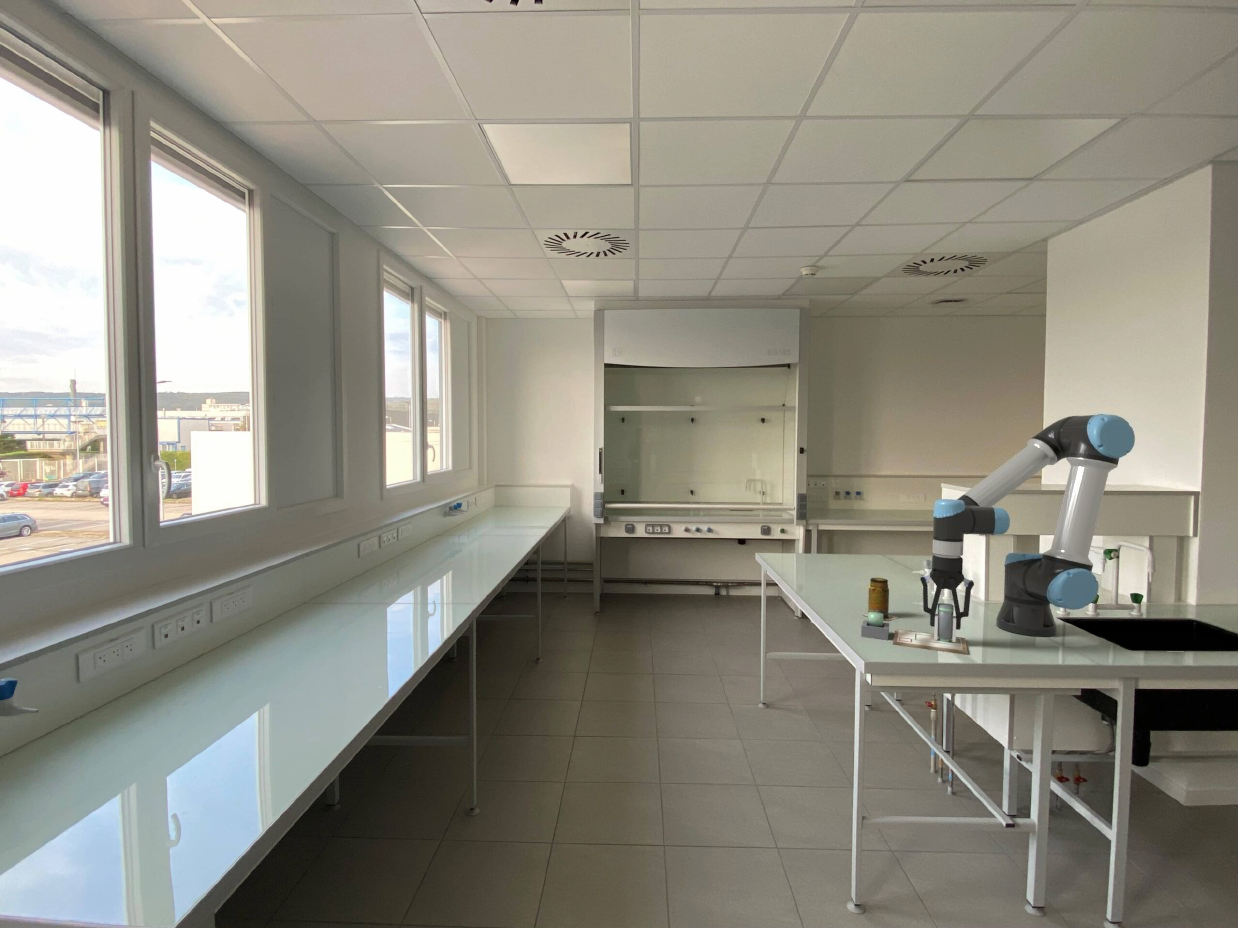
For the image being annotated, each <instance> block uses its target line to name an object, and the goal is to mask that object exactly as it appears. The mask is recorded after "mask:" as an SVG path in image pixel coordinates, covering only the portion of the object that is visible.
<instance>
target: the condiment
mask: <svg viewBox="0 0 1238 928" xmlns="http://www.w3.org/2000/svg"><path fill="white" fill-rule="evenodd" d="M888 583H889V580H888V579H887V578H883V577H871V578H870V583H869V587H868V599H867V604H868V605H867V612H868V613H869V612H880V613H883V621H893V620H895V619H898V618H899V617H898V616H895V615H890V614H889V610H890V609H889V608H890V607H889V606H890V604H889V603H890V602H889V600H890V589H889V584H888ZM868 613H864V614H863V616H865V617H868Z"/></svg>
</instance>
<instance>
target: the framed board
mask: <svg viewBox="0 0 1238 928" xmlns="http://www.w3.org/2000/svg"><path fill="white" fill-rule="evenodd" d="M893 634H894V635H893V639H892V640H893V641H892V645H895V646H903V647H910V648H916V649H917V648H918V649H923V650H924V649H925V650H932V651H938V652H945V653H953V654H961V655H967V656H968V649H967V648H968V647H967V641H966V638H965V637H959V636H956V639H955V642H952V639H950V642H942V641H940V640H939V637H937V640H935V639H934V633H929V632H921V631H914V630H906V629H898V628H895V629H894V633H893Z"/></svg>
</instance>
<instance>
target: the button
mask: <svg viewBox="0 0 1238 928" xmlns="http://www.w3.org/2000/svg"><path fill="white" fill-rule="evenodd" d="M867 614H868V616H867V620H868V624H870V625H874V626H882V625H883V622H884V620H883V613H880V612H869V613H867Z"/></svg>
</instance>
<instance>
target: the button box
mask: <svg viewBox="0 0 1238 928" xmlns="http://www.w3.org/2000/svg"><path fill="white" fill-rule="evenodd" d="M860 626H861V628H860V629H861V630H860V631H861V633H860V637H862V638H863V637H865V638H870V639H877V640H885V641H888V640H889V637H890V622H884V621H883V625H882V626H874V625H870V624H868V619H867V620H865V619H863V621H862V624H861V625H860Z"/></svg>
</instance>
